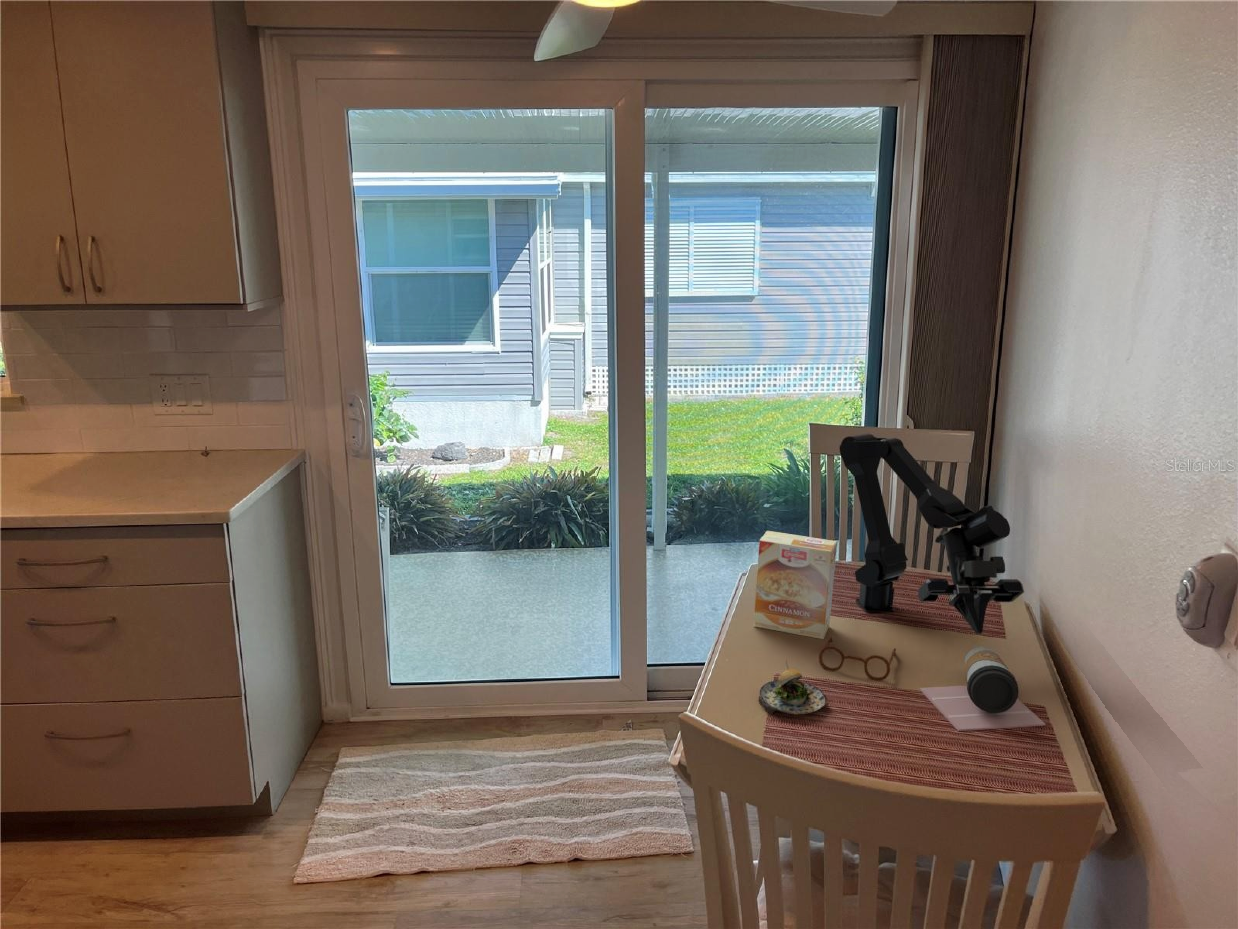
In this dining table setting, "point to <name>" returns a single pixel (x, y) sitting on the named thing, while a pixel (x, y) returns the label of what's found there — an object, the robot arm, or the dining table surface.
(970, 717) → the pink napkin
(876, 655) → the glasses
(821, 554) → the coffeecake box
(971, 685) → the coffee cup
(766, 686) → the burger
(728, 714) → the dining table surface
